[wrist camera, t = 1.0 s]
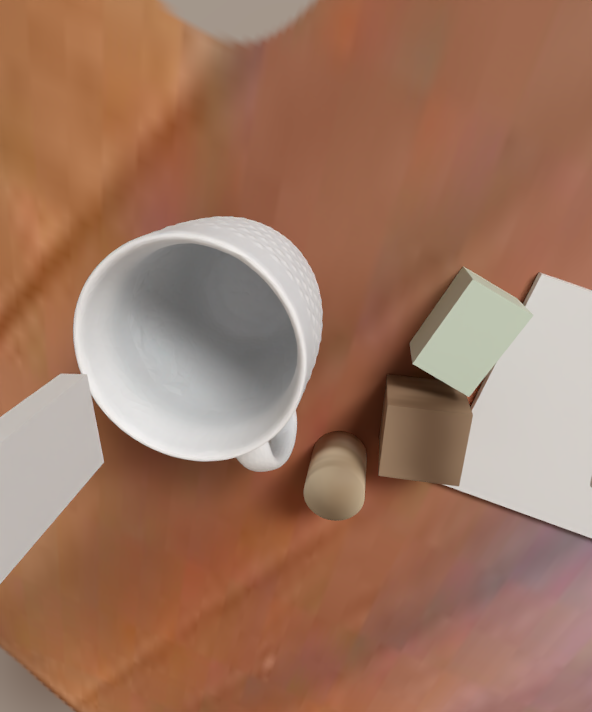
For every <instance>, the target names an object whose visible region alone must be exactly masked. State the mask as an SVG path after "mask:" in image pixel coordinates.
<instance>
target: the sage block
mask: <svg viewBox="0 0 592 712" xmlns="http://www.w3.org/2000/svg"><path fill="white" fill-rule="evenodd" d="M532 317H533V314H532V313H531V312H530V311H529V310H528V309H527V308H526V307H525V306H524V305H523V304H522V303H521V302H520V301H519V300H518V299H517V298H515V297H514V296H512V295H510V294H509V293H507V292H505V291H504V290H502V289H500V288H499V287H497V286H495V285H494V284H492V283H490V282H489V281H487V280H485V279H484V278H482V277H480V276H479V275H477V274H475V273H474V272H472V271H470V270H469V269H467V268H465V267H464V266H463V267H462V269H461V270H460V271H459V273H458V274H457V276H456V277H455V279H454V280H453V282H452V283H451V284H450V286H449V287H448V289H447V290H446V292H445V293H444V294H443V296H442V297H441V299H440V300H439V302H438V303H437V304H436V306H435V307H434V309H433V310H432V312H431V313H430V314H429V316H428V317H427V319H426V320H425V322H424V323H423V324H422V326H421V327H420V329H419V330H418V332H417V333H416V334H415V336H414V337H413V339H412V340H411V342H410V350H411V357H412V364H414V365H415V366H417V367H419V368H420V369H422V370H424V371H425V372H427V373H429V374H431V375H432V376H434V377H436V378H437V379H439V380H441V381H443V382H444V383H446V384H448V385H449V386H451V387H453V388H454V389H456V390H458V391H460V392H461V393H463V394H465V395H466V396H468V397H469V396H470V395H471V394H472V393H473V391H474V390H475V389H476V388H477V386H478V385H479V384H480V383H481V381H482V380H483V379H484V377H485V376H486V375H487V374H488V372H489V371H490V370H491V369H492V367H493V366H494V365H495V364H496V362H497V361H498V360H499V358H500V357H501V356H502V355H503V353H504V352H505V351H506V350H507V348H508V347H509V346H510V345H511V343H512V342H513V341H514V339H515V338H516V337H517V336H518V334H519V333H520V332H521V331H522V329H523V328H524V327H525V326H526V324H527V323H528V322H529V320H530V319H531V318H532Z"/></svg>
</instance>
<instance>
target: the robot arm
mask: <svg viewBox="0 0 592 712" xmlns="http://www.w3.org/2000/svg"><path fill="white" fill-rule="evenodd" d="M103 463H104V459H103V454H102V448H101V443H100V438H99V433H98V428H97V423H96V418H95V413H94V407H93V402H92V397H91V392H90V387H89V382H88V377H87V374H59V375H58V376H57V377H55V378H54V379H53V380H51V381H50V382H48V383H47V384H46V385H44V386H43V387H41V388H40V389H39V390H37V391H36V392H35V393H33V394H32V395H30V396H29V397H28V398H26V399H25V400H23V401H22V402H21V403H19V404H18V405H17V406H15V407H14V408H12V409H11V410H10V411H8V412H7V413H5V414H4V415H3V416H1V417H0V584H1V583H2V581H3V580H4V579H5V578H6V577H7V575H8V574H9V573H10V572H11V571H12V570H13V568H14V567H15V566H16V565H17V564H18V563H19V561H20V560H21V559H22V558H23V557H24V556H25V554H26V553H27V552H28V551H29V550H30V549H31V547H32V546H33V545H34V544H35V543H36V541H37V540H38V539H39V538H40V537H41V536H42V534H43V533H44V532H45V531H46V530H47V529H48V527H49V526H50V525H51V524H52V523H53V522H54V520H55V519H56V518H57V517H58V516H59V515H60V513H61V512H62V511H63V510H64V509H65V507H66V506H67V505H68V504H69V503H70V502H71V500H72V499H73V498H74V497H75V496H76V495H77V493H78V492H79V491H80V490H81V489H82V488H83V486H84V485H85V484H86V483H87V482H88V481H89V479H90V478H91V477H92V476H93V475H94V473H95V472H96V471H97V470H98V469H99V468H100V466H101V465H102V464H103ZM590 486H591V487H592V477H591V482H590Z"/></svg>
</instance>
